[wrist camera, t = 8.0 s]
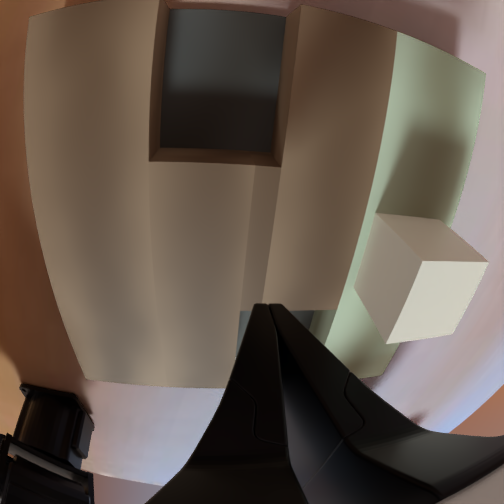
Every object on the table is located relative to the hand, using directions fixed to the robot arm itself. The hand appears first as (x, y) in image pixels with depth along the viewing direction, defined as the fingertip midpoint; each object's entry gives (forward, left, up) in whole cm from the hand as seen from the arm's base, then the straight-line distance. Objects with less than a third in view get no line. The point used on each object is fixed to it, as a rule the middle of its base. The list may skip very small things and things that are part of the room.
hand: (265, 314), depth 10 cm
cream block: (+7, 0, -4) cm, 8 cm away
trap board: (0, 0, -7) cm, 7 cm away
